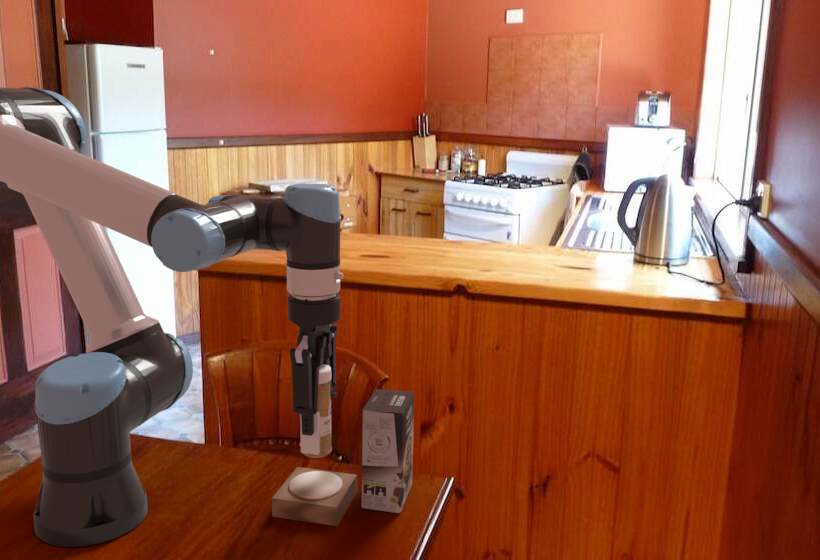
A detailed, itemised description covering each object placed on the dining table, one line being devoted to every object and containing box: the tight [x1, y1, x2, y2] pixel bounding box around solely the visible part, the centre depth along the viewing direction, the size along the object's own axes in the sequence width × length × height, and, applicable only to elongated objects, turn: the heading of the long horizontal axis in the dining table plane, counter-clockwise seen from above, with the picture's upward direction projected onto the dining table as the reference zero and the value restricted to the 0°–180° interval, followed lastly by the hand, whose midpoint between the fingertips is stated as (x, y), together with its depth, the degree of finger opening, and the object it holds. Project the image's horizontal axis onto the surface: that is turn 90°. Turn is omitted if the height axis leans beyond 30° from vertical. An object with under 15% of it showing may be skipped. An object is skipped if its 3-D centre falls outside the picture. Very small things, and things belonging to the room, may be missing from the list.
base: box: [271, 466, 358, 527], centre depth 112 cm, size 10×10×3 cm
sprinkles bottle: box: [302, 364, 333, 459], centre depth 109 cm, size 5×5×14 cm
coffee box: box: [361, 388, 415, 514], centre depth 113 cm, size 9×6×16 cm
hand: (316, 444), depth 110 cm, fingers closed on sprinkles bottle, 4 cm apart
